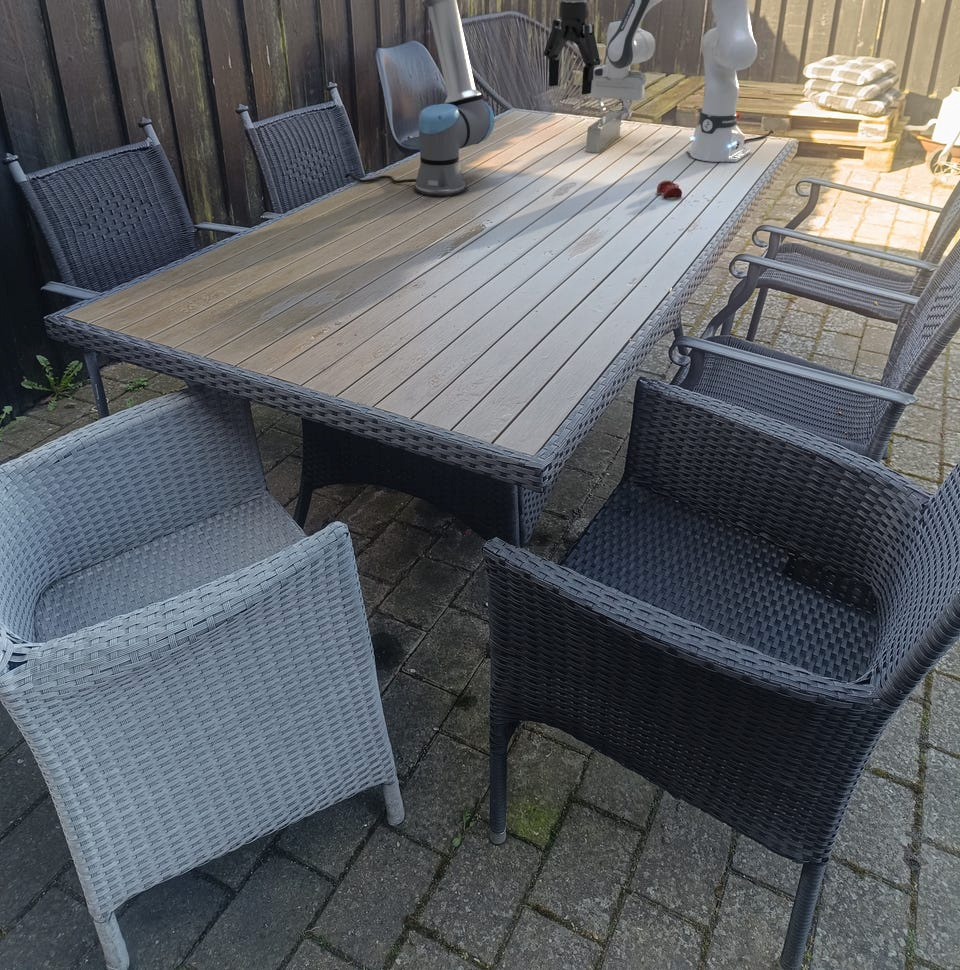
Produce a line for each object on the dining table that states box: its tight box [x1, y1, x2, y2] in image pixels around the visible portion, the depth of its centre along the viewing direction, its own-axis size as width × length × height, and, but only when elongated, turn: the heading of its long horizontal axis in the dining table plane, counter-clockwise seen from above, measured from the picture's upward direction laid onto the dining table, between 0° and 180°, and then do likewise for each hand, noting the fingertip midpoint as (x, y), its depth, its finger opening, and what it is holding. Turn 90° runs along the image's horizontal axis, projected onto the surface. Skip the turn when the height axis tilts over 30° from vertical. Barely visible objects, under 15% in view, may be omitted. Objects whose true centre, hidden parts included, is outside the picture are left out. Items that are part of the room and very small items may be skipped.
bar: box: [585, 112, 622, 154], centre depth 301 cm, size 26×5×8 cm, turn 156°
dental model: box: [656, 180, 683, 200], centre depth 252 cm, size 6×4×8 cm
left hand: (569, 89), depth 231 cm, fingers open, 13 cm apart
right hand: (615, 112), depth 305 cm, fingers open, 8 cm apart
